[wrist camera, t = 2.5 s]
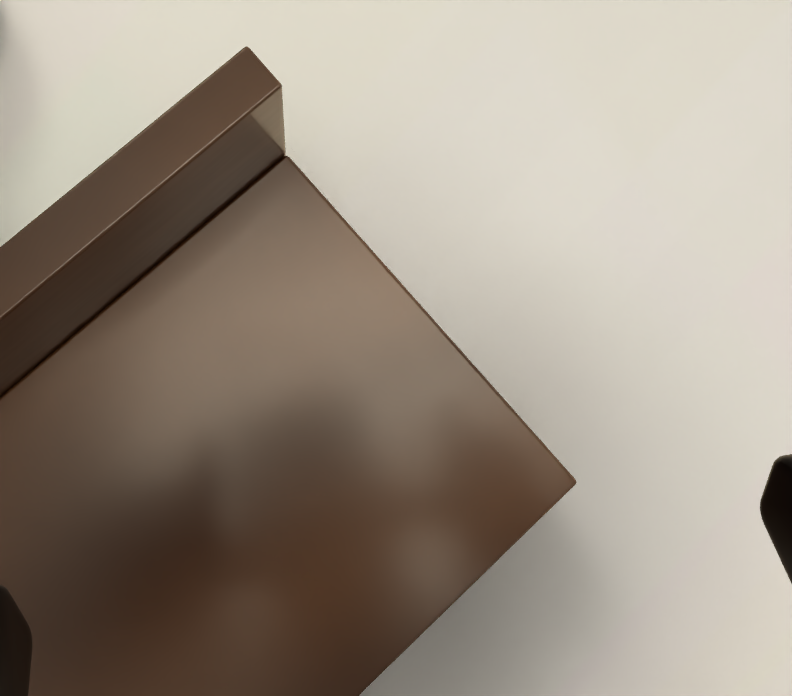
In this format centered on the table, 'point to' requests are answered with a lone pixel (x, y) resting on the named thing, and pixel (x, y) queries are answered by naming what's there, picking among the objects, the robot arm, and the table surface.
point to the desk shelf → (236, 426)
